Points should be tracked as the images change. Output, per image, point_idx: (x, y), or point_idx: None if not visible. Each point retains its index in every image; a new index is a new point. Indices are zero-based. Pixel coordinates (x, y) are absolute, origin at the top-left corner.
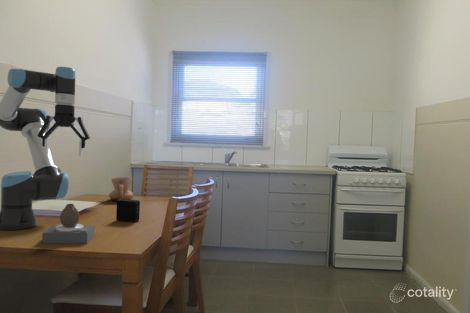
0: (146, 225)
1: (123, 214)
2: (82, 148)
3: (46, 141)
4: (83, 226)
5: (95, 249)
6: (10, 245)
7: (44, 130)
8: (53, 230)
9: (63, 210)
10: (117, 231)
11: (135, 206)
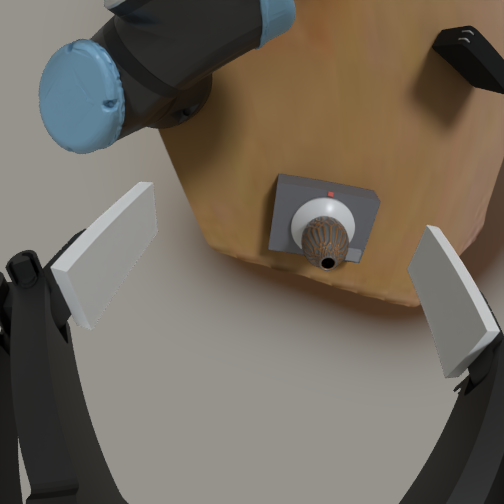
0: (489, 126)
1: (458, 62)
2: (464, 268)
3: (101, 310)
4: (354, 226)
5: (365, 282)
6: (215, 240)
7: (5, 379)
8: (288, 234)
9: (310, 260)
10: (426, 166)
11: (498, 92)
